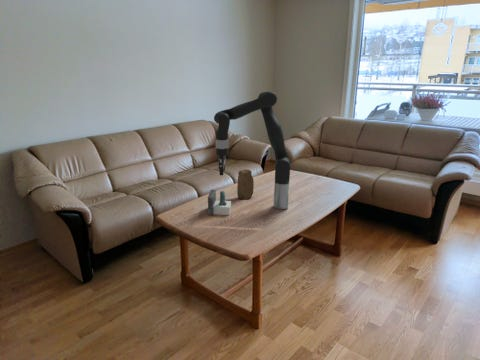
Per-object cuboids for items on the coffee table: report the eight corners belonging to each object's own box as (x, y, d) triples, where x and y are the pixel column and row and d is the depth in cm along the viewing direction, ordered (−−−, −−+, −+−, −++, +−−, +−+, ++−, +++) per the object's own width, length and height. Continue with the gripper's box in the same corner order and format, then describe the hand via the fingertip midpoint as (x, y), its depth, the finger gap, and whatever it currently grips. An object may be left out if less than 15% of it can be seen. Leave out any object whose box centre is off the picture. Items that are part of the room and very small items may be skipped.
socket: (231, 208, 219) (231, 201, 218) (229, 214, 210) (229, 207, 208) (215, 207, 220) (215, 200, 218) (213, 214, 210) (213, 206, 209)
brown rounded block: (242, 200, 235) (243, 173, 228) (236, 197, 240) (236, 170, 234) (254, 197, 241) (255, 170, 235) (247, 194, 247) (248, 167, 240)
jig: (242, 209, 221) (242, 190, 216) (240, 218, 208) (241, 198, 204) (211, 208, 222) (211, 189, 218) (208, 217, 210) (207, 197, 205)
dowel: (225, 208, 216) (225, 191, 212) (224, 210, 213) (225, 192, 209) (220, 208, 216) (220, 190, 212) (219, 210, 213) (219, 192, 209)
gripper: (217, 143, 208) (217, 169, 213) (214, 149, 195) (214, 176, 200) (229, 144, 208) (229, 169, 213) (227, 149, 194) (227, 176, 199)
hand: (222, 172), depth 206 cm, fingers open, 8 cm apart
